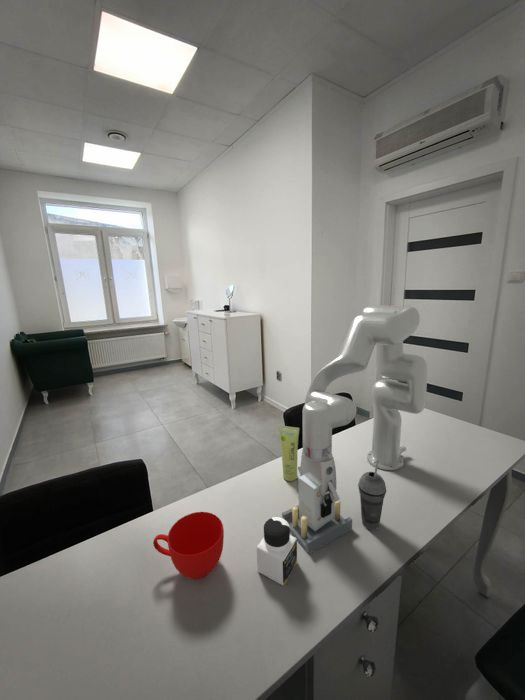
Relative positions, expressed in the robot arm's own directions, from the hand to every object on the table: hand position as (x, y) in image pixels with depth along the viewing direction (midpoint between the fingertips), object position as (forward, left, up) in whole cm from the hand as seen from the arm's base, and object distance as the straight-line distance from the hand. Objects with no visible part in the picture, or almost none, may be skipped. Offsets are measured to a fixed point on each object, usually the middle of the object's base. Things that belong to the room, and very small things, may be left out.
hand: (317, 506), depth 83 cm
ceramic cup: (+34, -6, -6) cm, 35 cm away
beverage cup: (-13, +7, -6) cm, 16 cm away
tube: (-6, -22, -6) cm, 24 cm away
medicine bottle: (+16, +5, -6) cm, 18 cm away
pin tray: (0, 0, -6) cm, 6 cm away
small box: (0, 0, -4) cm, 4 cm away
